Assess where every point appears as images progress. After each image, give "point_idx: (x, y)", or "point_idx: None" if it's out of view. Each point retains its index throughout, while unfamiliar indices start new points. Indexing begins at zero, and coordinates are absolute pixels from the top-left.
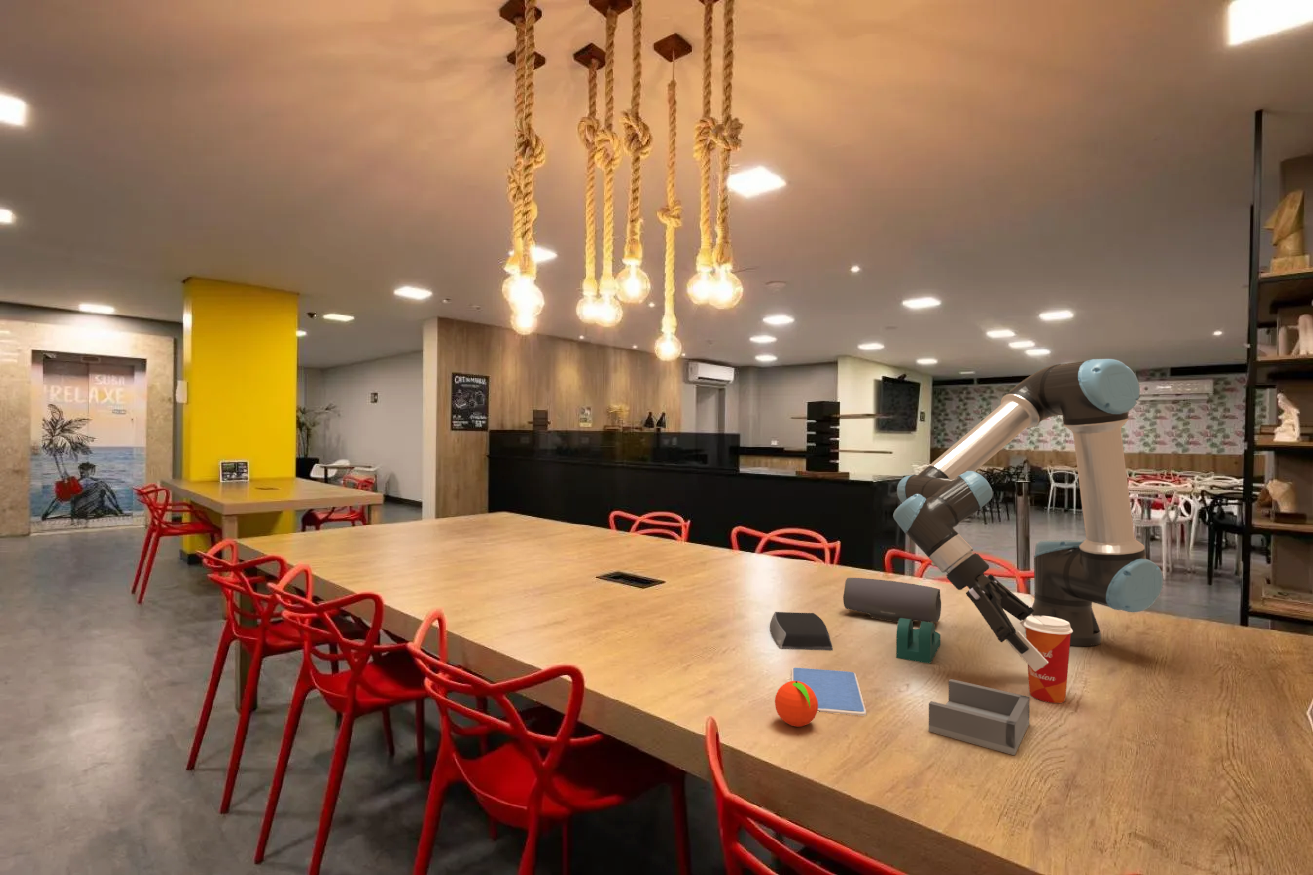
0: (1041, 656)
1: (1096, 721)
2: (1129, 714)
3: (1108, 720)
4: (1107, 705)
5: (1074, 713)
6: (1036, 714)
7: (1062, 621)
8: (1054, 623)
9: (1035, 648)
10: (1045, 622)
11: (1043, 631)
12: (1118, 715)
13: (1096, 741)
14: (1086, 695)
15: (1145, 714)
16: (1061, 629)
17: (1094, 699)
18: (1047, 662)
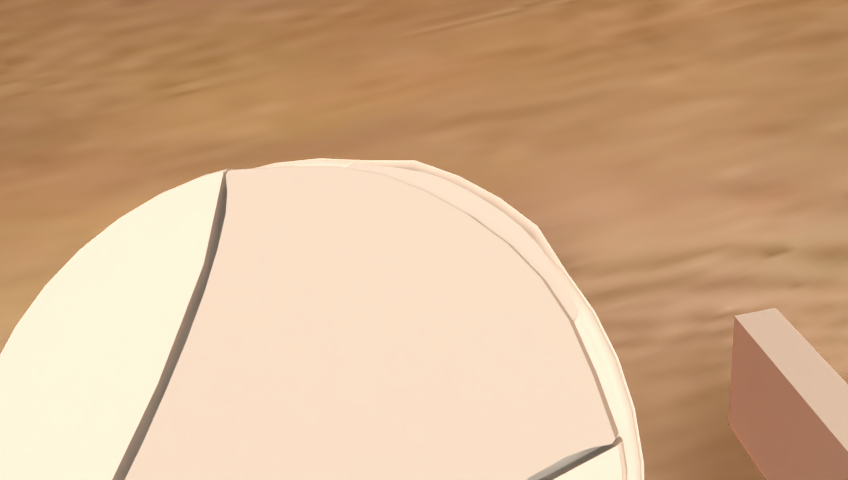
0: (816, 356)
1: (555, 153)
2: (327, 83)
3: (491, 122)
4: None
5: None
6: None
7: (157, 285)
8: (394, 327)
9: (833, 427)
10: (450, 455)
11: (631, 417)
12: (383, 111)
13: (806, 84)
14: None
15: (268, 40)
16: (492, 207)
17: None
18: (771, 312)
